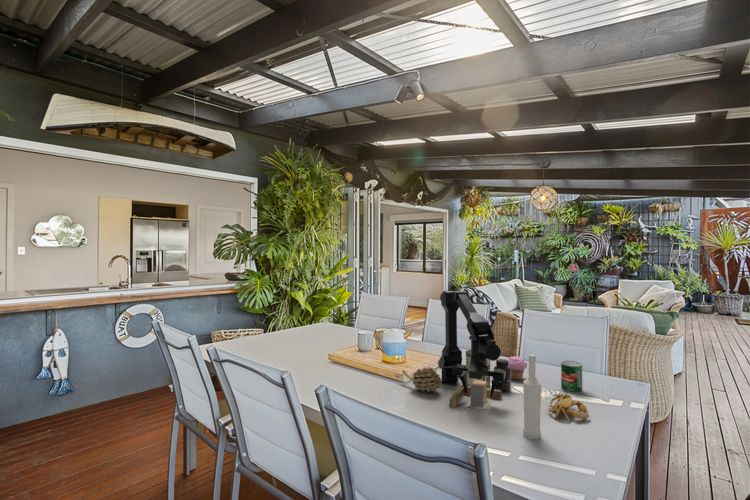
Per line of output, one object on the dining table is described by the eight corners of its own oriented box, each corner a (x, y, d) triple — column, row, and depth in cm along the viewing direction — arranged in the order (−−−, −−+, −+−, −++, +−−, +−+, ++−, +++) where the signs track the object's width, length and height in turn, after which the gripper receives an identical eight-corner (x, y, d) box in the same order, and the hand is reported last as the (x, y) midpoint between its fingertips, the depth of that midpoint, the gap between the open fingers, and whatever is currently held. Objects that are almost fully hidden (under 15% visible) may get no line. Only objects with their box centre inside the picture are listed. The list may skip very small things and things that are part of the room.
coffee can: (466, 380, 180) (467, 348, 180) (491, 382, 176) (491, 350, 176) (464, 387, 170) (464, 354, 170) (489, 390, 167) (489, 356, 167)
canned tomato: (582, 388, 169) (582, 362, 169) (582, 394, 162) (582, 367, 162) (561, 385, 173) (561, 359, 173) (560, 391, 165) (560, 364, 165)
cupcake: (505, 380, 180) (505, 357, 180) (506, 374, 188) (506, 353, 188) (526, 383, 176) (526, 359, 176) (527, 377, 184) (527, 354, 184)
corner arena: (449, 406, 150) (449, 398, 150) (460, 391, 165) (460, 384, 165) (494, 414, 143) (494, 405, 143) (501, 397, 159) (501, 390, 159)
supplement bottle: (511, 393, 164) (511, 363, 164) (494, 391, 166) (494, 362, 165) (509, 387, 171) (509, 358, 171) (492, 386, 172) (492, 357, 172)
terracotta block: (474, 397, 158) (474, 379, 158) (486, 399, 156) (486, 381, 156) (470, 405, 151) (470, 386, 151) (482, 407, 149) (482, 387, 149)
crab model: (589, 427, 134) (589, 410, 133) (546, 419, 140) (547, 403, 139) (589, 410, 147) (589, 395, 147) (550, 403, 153) (551, 389, 153)
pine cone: (448, 393, 164) (448, 368, 164) (433, 399, 157) (433, 373, 157) (407, 380, 180) (407, 357, 180) (392, 385, 173) (392, 362, 173)
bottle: (520, 432, 129) (520, 353, 129) (536, 431, 130) (536, 353, 130) (527, 440, 124) (527, 357, 124) (544, 439, 125) (544, 357, 124)
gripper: (448, 356, 150) (448, 398, 150) (501, 362, 142) (501, 406, 142) (456, 349, 160) (456, 388, 160) (505, 354, 152) (505, 396, 152)
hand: (478, 395), depth 153 cm, fingers open, 9 cm apart
